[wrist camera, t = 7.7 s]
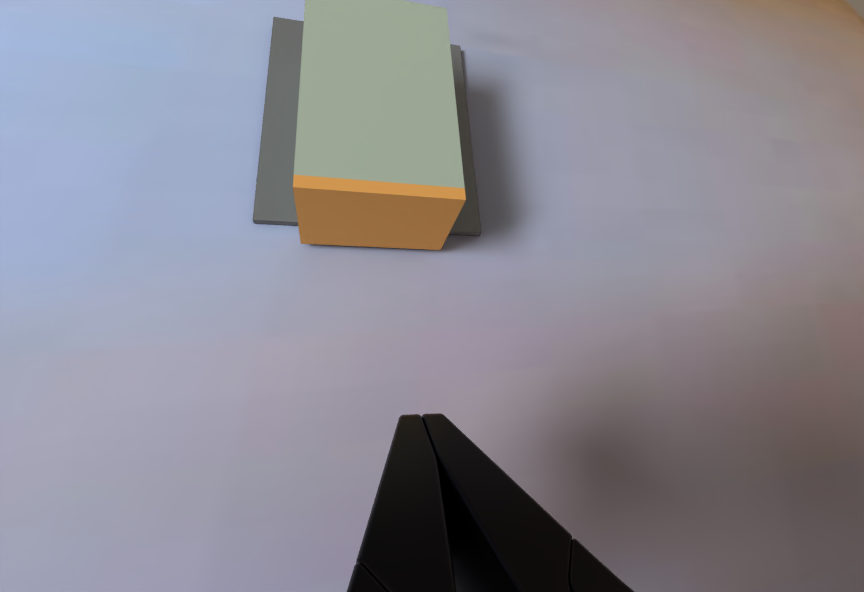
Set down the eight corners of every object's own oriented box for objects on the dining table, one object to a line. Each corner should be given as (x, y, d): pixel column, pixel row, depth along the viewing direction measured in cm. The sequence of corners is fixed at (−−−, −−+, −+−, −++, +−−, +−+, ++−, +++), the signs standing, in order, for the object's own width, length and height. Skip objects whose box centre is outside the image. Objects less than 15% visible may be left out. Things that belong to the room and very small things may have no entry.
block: (465, 199, 15) (446, 8, 19) (292, 187, 14) (306, -17, 18) (440, 250, 19) (428, 81, 23) (301, 243, 18) (310, 65, 21)
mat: (479, 235, 20) (481, 232, 20) (254, 223, 18) (252, 219, 18) (458, 50, 24) (460, 45, 24) (274, 22, 22) (273, 16, 22)
